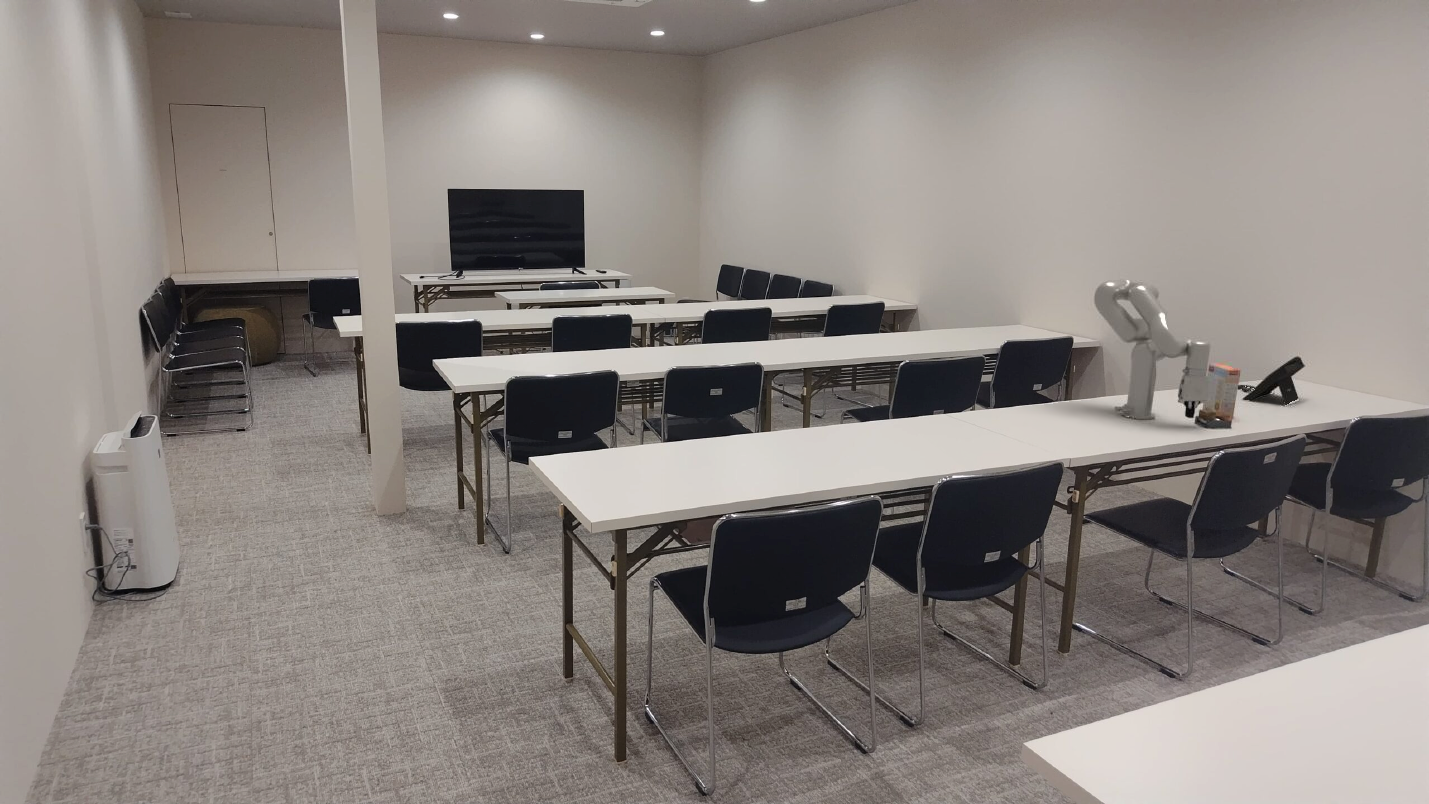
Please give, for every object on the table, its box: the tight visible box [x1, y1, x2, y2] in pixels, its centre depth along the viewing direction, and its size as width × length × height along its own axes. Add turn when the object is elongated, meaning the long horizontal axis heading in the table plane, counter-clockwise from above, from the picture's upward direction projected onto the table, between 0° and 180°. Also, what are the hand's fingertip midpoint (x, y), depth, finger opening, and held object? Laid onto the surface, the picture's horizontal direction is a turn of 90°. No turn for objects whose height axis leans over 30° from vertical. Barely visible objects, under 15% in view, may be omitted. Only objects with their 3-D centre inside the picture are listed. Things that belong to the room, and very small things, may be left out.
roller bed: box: [1194, 411, 1234, 429], centre depth 356 cm, size 10×8×5 cm
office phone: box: [1238, 356, 1306, 406], centre depth 406 cm, size 29×28×20 cm
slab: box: [1197, 409, 1216, 420], centre depth 355 cm, size 4×5×3 cm
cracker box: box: [1201, 362, 1242, 420], centre depth 371 cm, size 14×6×21 cm, turn 179°
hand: (1189, 417), depth 355 cm, fingers closed
